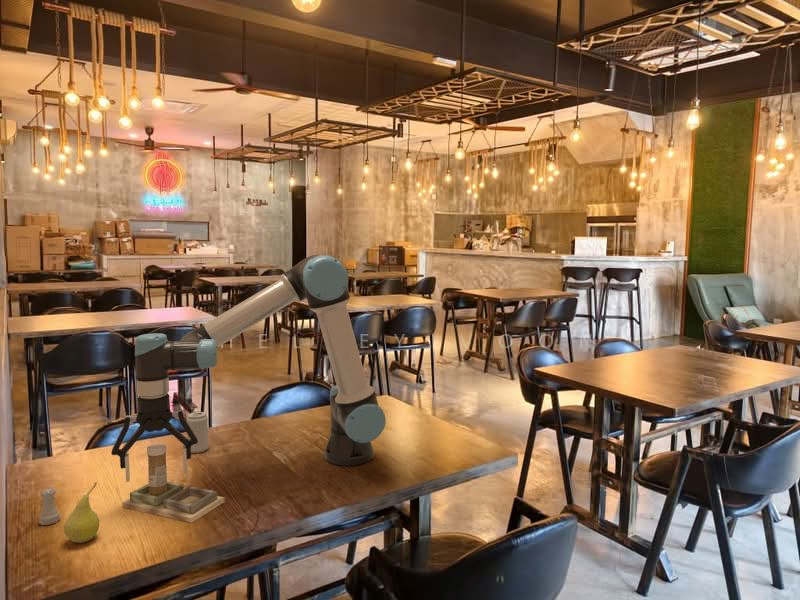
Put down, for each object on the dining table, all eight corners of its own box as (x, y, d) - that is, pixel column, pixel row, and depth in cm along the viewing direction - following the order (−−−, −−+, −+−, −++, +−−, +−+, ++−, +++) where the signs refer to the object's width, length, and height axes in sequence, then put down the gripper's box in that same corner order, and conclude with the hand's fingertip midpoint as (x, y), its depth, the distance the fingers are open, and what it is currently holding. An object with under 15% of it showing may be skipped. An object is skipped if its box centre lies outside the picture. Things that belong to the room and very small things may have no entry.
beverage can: (211, 447, 185) (210, 411, 184) (203, 454, 178) (202, 417, 177) (193, 446, 185) (192, 411, 184) (183, 453, 179) (182, 416, 178)
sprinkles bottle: (146, 495, 146) (144, 445, 145) (164, 490, 149) (162, 441, 148) (152, 501, 142) (150, 450, 141) (170, 496, 146) (168, 445, 144)
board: (224, 501, 145) (224, 489, 145) (191, 522, 134) (191, 509, 134) (158, 488, 153) (158, 476, 153) (122, 507, 142) (121, 494, 142)
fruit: (58, 544, 124) (55, 492, 123) (88, 529, 131) (85, 479, 130) (80, 550, 122) (77, 497, 121) (109, 534, 129) (107, 483, 128)
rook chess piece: (45, 517, 137) (43, 485, 136) (64, 516, 137) (62, 485, 136) (34, 526, 132) (32, 493, 131) (54, 525, 133) (52, 493, 132)
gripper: (203, 386, 151) (206, 462, 154) (99, 396, 142) (103, 477, 144) (206, 392, 145) (209, 472, 147) (96, 404, 135) (101, 489, 137)
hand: (157, 475), depth 145 cm, fingers open, 13 cm apart
